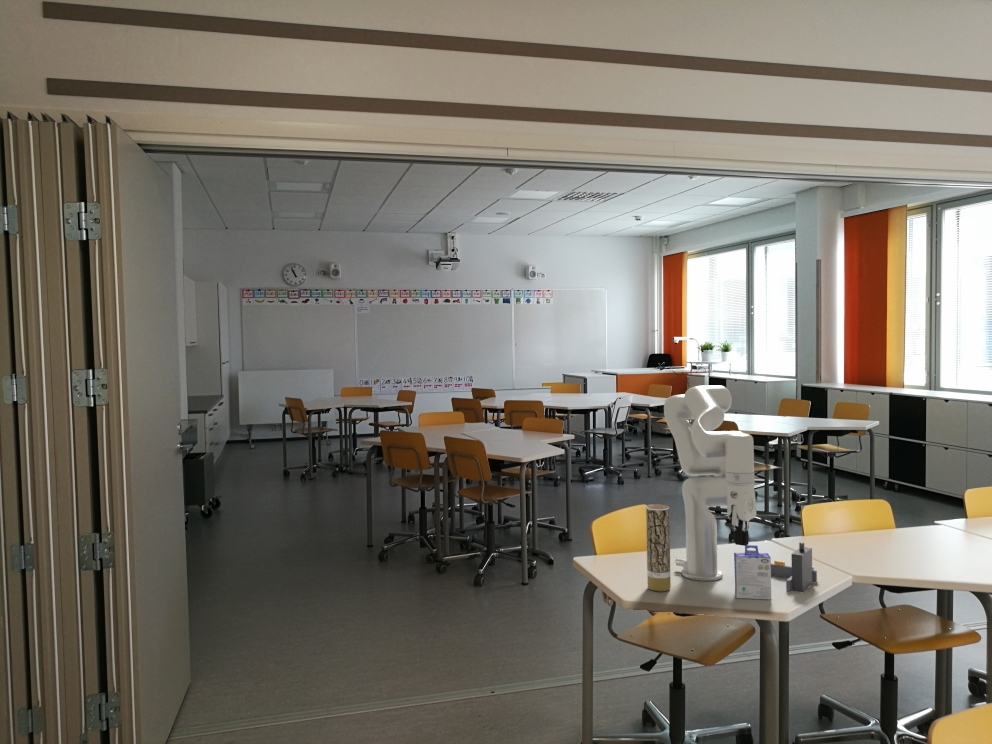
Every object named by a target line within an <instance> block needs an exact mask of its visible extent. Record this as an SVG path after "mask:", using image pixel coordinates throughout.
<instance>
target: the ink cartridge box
mask: <svg viewBox="0 0 992 744" xmlns="http://www.w3.org/2000/svg"><path fill="white" fill-rule="evenodd" d="M751 548H752V549H755V550H749V549H751ZM771 558H772V557H771V556H770V554H769V553H766V552H759V547H758V545H749V544H748V545H746V546H744V552H733V561H734V566H733V567H734V594H735V598H736V599H752V600H753V599H754V600H772V575H771V563H772V561H771Z"/></svg>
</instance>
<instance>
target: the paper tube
mask: <svg viewBox="0 0 992 744" xmlns="http://www.w3.org/2000/svg"><path fill="white" fill-rule="evenodd" d="M645 510H646V511H645V512H646V513H645V514H646V515H645V516H646V519H645V520H646V521H645V522H646V563H647V564H646V566H647V567H646V569H647V572H646V573H647V574H646V575H647V588H648V589H649V590H650V589H651V591H653V590H654V591H653V592H667V591H669V590H670V589H671V538H670V536H671V535H670V534H671V533H670V531H671V529H670V527H671V526H670V506H669V505H667V504H661V503H654V504H653V503H651V504H647V505H646V507H645Z"/></svg>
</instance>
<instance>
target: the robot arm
mask: <svg viewBox="0 0 992 744" xmlns="http://www.w3.org/2000/svg"><path fill="white" fill-rule="evenodd" d="M732 401H733V398H732V393H731V392H730V391H729V388H727V387H726V386H724V385H695V386H692V387H690V388H688V389H687V390H686V391H685V393H684V394H683V393H682V394H674V395H672V396H669V397H667V398H666V400H665V401H664V403H663V404H664V405H663V413H664V419H665V422H666V425H667V427H668V430H669V431H670V432H671V435H672V437H673V440H674V442H675V447H676V450H677V451H676V452H677V456H678V460H679V464H680V468H681V470H682V473H684V474H686V475H687V476H692V477H689V478H687V479H685V480H684V481H683V483H682V485H681V493H682V499H683V504H684V505H683V506H684V511H685V512H684V514H685V515H684V516H685V545H686V546H685V551H686V552H685V553H686V555H685V556H686V557H685V559H684V558H680V557H679V558H678V557H676V558H675V566H677V567H682V569H681V575H682V576H683V577H684V578H686V579H689V580H694V581H703V582H711V581H717V580H720V579H722V578H723V574H724V573H723V571H721V570H720V569H718V530H717V529H718V528H717V527H718V524H717V519H716V517H715V516H714V514H713V513H712V512H711V511H710V509H709V508H711V507H713V508H714V507H727V509H726V511H727V512H726V513H727V519H729V521H731V526H733V530H734V545H735V546H736V545H737V546H744V547H745V546H746V545H749V542H750V541H749V527H750V526H749V524H750V523H749V522H750V521H751V520H753V519H755V517H757V501H756V491H755V452H754V451H755V450H754V447H755V446H754V437H753V436H752V435H751V434H749V433H744V432H742V431H739V430H729V431H728V430H721V431H720V430H719V431H718V430H717V431H715V430H716V429H718V428H719V427H720V426H721V425H722V424H723V423H724V419H725V413H727V412H728V411H729V410H730V409H731V408H732V403H733V402H732ZM688 420H694V421H693V422H692V424H691V423H690V422H688Z"/></svg>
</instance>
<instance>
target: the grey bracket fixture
mask: <svg viewBox="0 0 992 744" xmlns="http://www.w3.org/2000/svg"><path fill="white" fill-rule="evenodd" d="M798 546H799V547H798V549H796V550H795V551H793V552H792V553H791V566H789V565H786V561H783V560H782V561H781V560H774V562H773V563H772V562H771V576H774V577H779V576H780V578H785V577H786V578H787V579H786V580H785V581H786V583H785V584H786V585H785V588H786V593H792V592H796V591H797V592H796V593H801V592H803V593H804V592H805V591H806V590H807V589H809V588H810V587H811V586H812V585H813V583H814V582H816V583H817V582H818V571H817V570H815V566H814V565H813V548H812V547H807V546H805V542H801V541H800V542H798ZM810 585H811V586H810ZM809 586H810V587H809ZM808 587H809V588H808Z"/></svg>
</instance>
